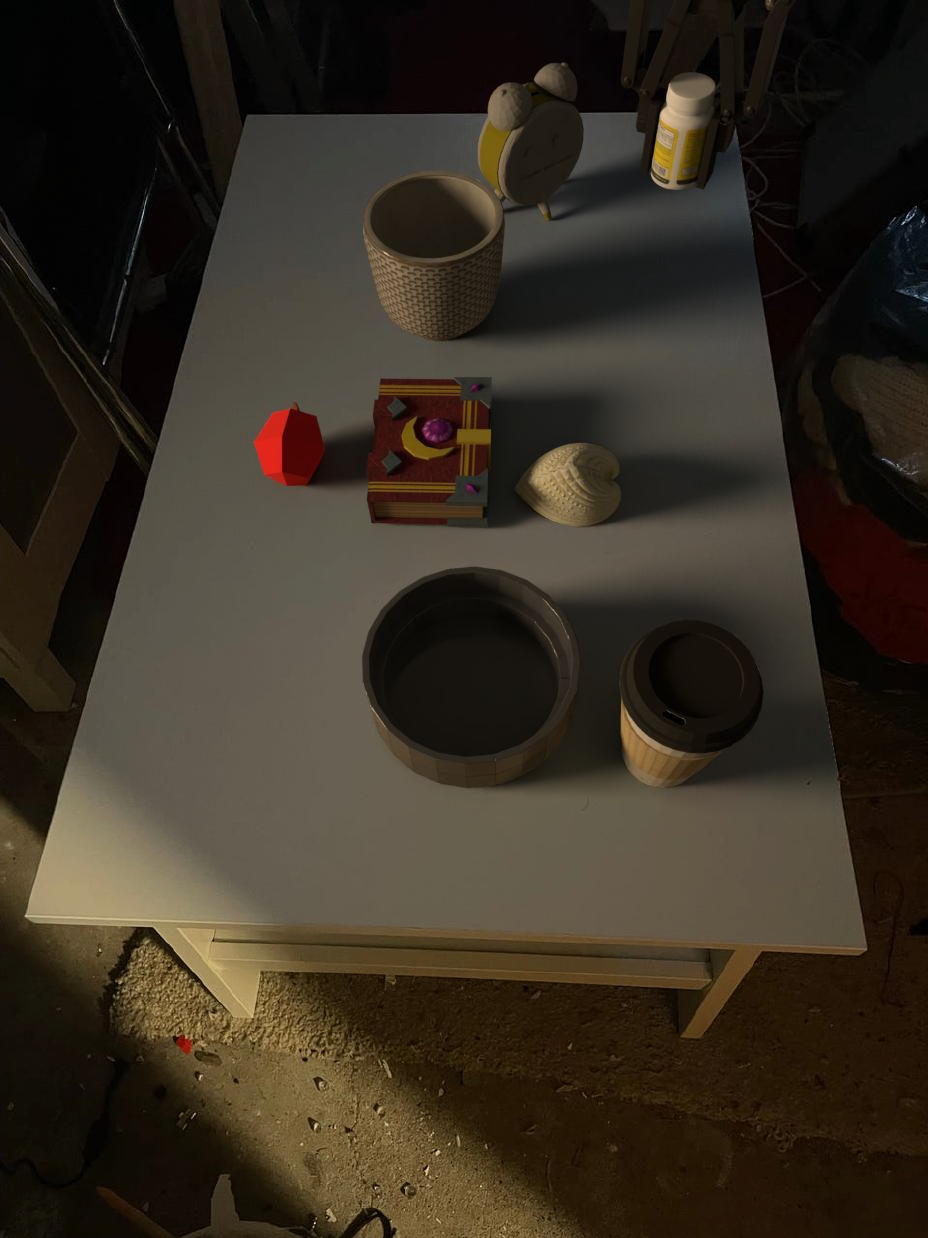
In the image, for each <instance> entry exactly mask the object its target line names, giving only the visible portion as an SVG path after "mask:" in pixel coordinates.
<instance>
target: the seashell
mask: <svg viewBox="0 0 928 1238" xmlns="http://www.w3.org/2000/svg"><path fill="white" fill-rule="evenodd" d="M620 469H621V467H620V463H619V461H618V459H617V457H616V456H615V454H613V452H611V451H609V450H608V449H607V448H605V447H602V446H601V445H597V444H593V443H587V442H575V443H574V442H573V443H568V444H564V445H561V446H558V447H556V448H554V449H552V450H550V451H548V452H546V453H544V454H542V455H541V456H540V457H539V458H538V459H537V460H535V461H534V462H533V463H532V464H531V465H530V466H529V467H528V468H527V470H526V471H525V472H524V473H523V474H522V476H521V478H520V479H519V481H518V482H517V483H516V485H515V486H514V491H515V492H516V493H517V495H519V496H520V497H521V499H522V500H523V501H524V502H526V503H527V504H528V505H529V506H530V507H531V508H532V509H533V510H534V511H535V512H536V513H538V514H539V515H541V516H542V517H545V518H546V519H548V520H550V521H552V522H554V523H557V524H561V525H563V526H567V527H578V528H580V527H590V526H594V525H596V524H599V523H602V522H603V521H605V520H607V519H608V518H609V517H611V516H612V515H614V513H615V512H616V511H617V509H618V507H619V505H620V503H621V499H622V491H621V488H620V486H619V484H618V483H617V482H616V481H614V479H615V478H617V477H618V476H619V474H620Z"/></svg>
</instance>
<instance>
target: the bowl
mask: <svg viewBox="0 0 928 1238" xmlns="http://www.w3.org/2000/svg"><path fill="white" fill-rule="evenodd" d="M366 635H367V636H366V638H365V642H364V646H363V649H362V655H361V669H362V670H361V671H362V672H361V673H362V674H361V675H362V684H363V689H364V691H365V694H366V699H367V701H368V704H369V708H370V710H371V714H372V716H373V720H374V723H375V725H376V729H377V732H378V734H379V736H380V737H381V739H382V740H383V742H384V743H385V745H386V746H387V748H388V750H390V752H391V754H392V755H393V756H394V757H396V759H397V760H399V761H400V762H401V763H402V764H404V765H405V766H406V767H407V768H408V769H410V771H412V772H413V773H415V774H417V775H419V776H421V777H424V778H426V779H428V780H430V781H433V782H435V783H437V784H440V785H445V786H451V787H456V788H457V787H458V788H463V789H476V788H485V787H496V786H499V785H501V784H505V783H508V782H510V781H513V780H516V779H519V778H521V777H523V776H525V775H526V774H527V773H529V772H530V771H531V770H533V769H535V768H536V767H538V766H539V765H540V764H541V763H543V762H544V761H545V760H546V759H547V758H548V757H549V756H550V754H551V753H552V752H553V751H554V750H555V748H556V747H558V745H559V744H560V743H561V741H562V739H563V737H564V735H565V733H566V730H567V728H568V726H569V724H570V722H571V719H572V716H573V711H574V707H575V706H574V705H575V701H576V697H577V691H578V685H579V680H580V679H579V678H580V671H581V657H580V650H579V646H578V640H577V639H578V638H577V636H576V633H575V632H574V629H573V628H572V625H571V624H570V621H569V619H568V618H567V615H566V614H565V612H564V611H563V610H562V609H561V607H560V606H559V605H558V604H557V603H556V601H554V599H552V597H551V596H550V595H549V594H548V593H546V592H545V591H544V590H542V589H541V588H540V587H538V586H536V585H535V584H533V583H532V582H531V581H530V580H528V579H525V578H524V577H520V576H518V575H515V574H513V573H511V572H507V571H505V570H502V569H495V568H489V567H481V566H467V567H466V566H465V567H455V568H454V567H453V568H447V569H444V570H440V571H437V572H434V573H430V574H429V575H424V576H423V577H421V578H418V579H416V580H415V581H413V582H412V583H410V584H409V585H407V586H405V587H404V588H402V589H400V590H399V591H398V592H397V593H396V594H395V595H394V596H393V597H392V598H391V599H390V600H389V601H388V602H387V603H386V604H385V605H384V606H383V607H382V608H381V609H380V610H379V612H378V614H377V616H376V618H375V619H374V620H373V623H372V624H371V626H370V628H369V629H368V632H367V634H366Z"/></svg>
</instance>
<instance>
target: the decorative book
mask: <svg viewBox="0 0 928 1238" xmlns="http://www.w3.org/2000/svg"><path fill="white" fill-rule="evenodd" d="M377 397H378V398H377V399H374V400H373V410H372V420H373V426H374V433H373V441H372V449H371V450H372V451H371V452H368V454H367V461H366V471H365V473H366V477H367V482H368V485H367V492H366V493H367V494H366V503H367V508H368V513H369V516H370V517H369V518H370V523H371V524H388V525H390V524H395V525H397V524H398V525H442V526H443V525H444V526H445V525H446V526H447V528H473V529H475V528H476V529H488V520H489V519H488V518H489V515H488V514H489V473H491V470H492V469H491V466H492V429H491V427H492V426H491V425H492V407H493V405H492V404H493V403H492V402H493V401H492V376H453V379H452V378H385V377H384V378H382V377H381V378H380V380H379V389H378V396H377Z"/></svg>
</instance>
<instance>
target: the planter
mask: <svg viewBox="0 0 928 1238" xmlns="http://www.w3.org/2000/svg"><path fill="white" fill-rule="evenodd" d="M505 227H506V217H505V210H504V207H503V204H501V201H500V199H499V198H498V196H497V195H496V193H495V190H493V189H492V188H491V187H490V186H489V185H487V184H486V183H484V182H483V181H482V180H479V179H477V178H475V177H473V176H470V175H468V174H465V173H461V172H457V171H450V170H423V171H418V172H412V173H409V174H405V175H402V176H401V177H397V178H394V179H393V180H392V181H389V182H388V183H386V184H385V185H383V186H382V187H380V188H379V189H378V190H377V191H376V192H375V193H374V194H373V195H372V196H371V198H370V199H369V201H368V202H367V203H366V206H365V208H364V211H363V216H362V232H363V233H362V234H363V238H364V243H365V248H366V252H367V256H368V261H369V266H370V271H371V274H372V278H373V282H374V286H375V289H376V292H377V295H378V298H379V301H380V303H381V305H382V307H383V309H384V311H385V313H386V314H387V316H388V317H389V318H390V320H391V321H392V322H393V323H394V324H395V325H396V326H397V327H398V328H401V330H404V331H405V332H407V333H409V334H411V335H413V336H416V337H420V338H422V339H423V338H424V339H426V340H430V341H435V342H437V341H438V342H440V341H448V340H452V339H454V338H457V337H459V336H461V335H463V334H466V333H468V332H470V331H471V330H473V329H474V328H476V327H477V326H478V325H480V323H482V322H483V321H484V320H485V319H486V317H487V316H488V315H489V313H490V311H491V310H492V308H493V306H494V303H495V302H496V298H497V295H498V291H499V285H500V281H501V272H502V264H503V254H504V242H505V241H504V240H505V232H506V231H505V229H506V228H505Z"/></svg>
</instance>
